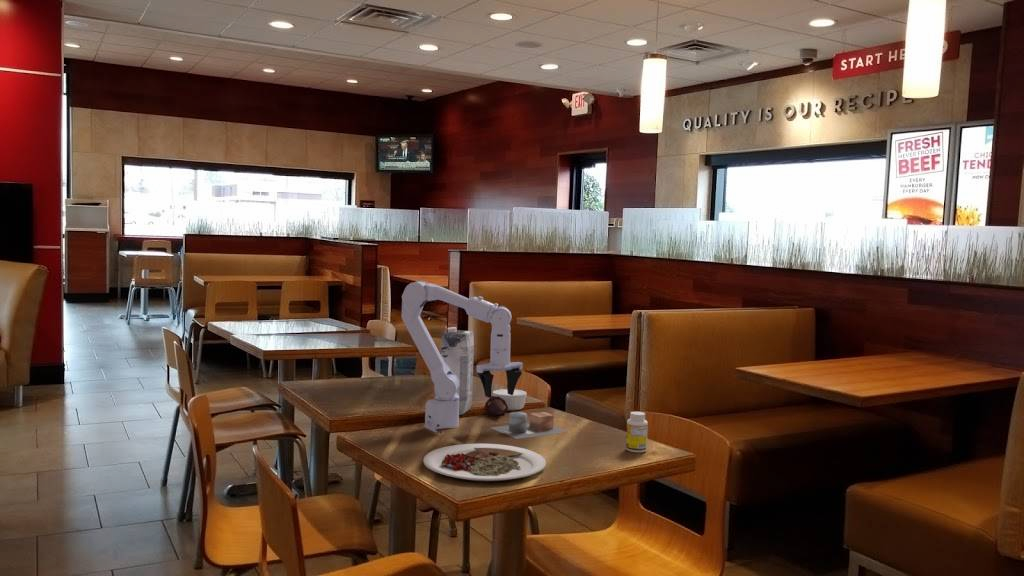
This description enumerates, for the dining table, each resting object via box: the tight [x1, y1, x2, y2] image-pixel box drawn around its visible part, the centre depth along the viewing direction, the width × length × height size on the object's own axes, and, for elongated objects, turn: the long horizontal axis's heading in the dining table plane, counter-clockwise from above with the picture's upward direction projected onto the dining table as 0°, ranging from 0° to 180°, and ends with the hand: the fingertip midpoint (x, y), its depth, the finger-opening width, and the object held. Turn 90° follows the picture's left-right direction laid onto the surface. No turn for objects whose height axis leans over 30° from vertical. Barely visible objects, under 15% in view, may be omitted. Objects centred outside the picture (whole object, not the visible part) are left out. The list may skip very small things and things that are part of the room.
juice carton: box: [440, 326, 475, 416], centre depth 250 cm, size 9×10×27 cm
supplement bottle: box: [625, 411, 649, 454], centre depth 212 cm, size 6×6×10 cm
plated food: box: [422, 443, 547, 482], centre depth 193 cm, size 30×30×3 cm
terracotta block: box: [529, 411, 555, 431], centre depth 229 cm, size 5×5×4 cm
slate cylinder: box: [508, 411, 528, 433], centre depth 224 cm, size 5×5×5 cm
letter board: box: [490, 422, 569, 440], centre depth 227 cm, size 18×14×1 cm
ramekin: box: [492, 388, 528, 411], centre depth 259 cm, size 11×11×5 cm
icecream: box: [484, 395, 508, 416], centre depth 244 cm, size 7×7×15 cm
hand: (499, 395), depth 227 cm, fingers open, 7 cm apart
